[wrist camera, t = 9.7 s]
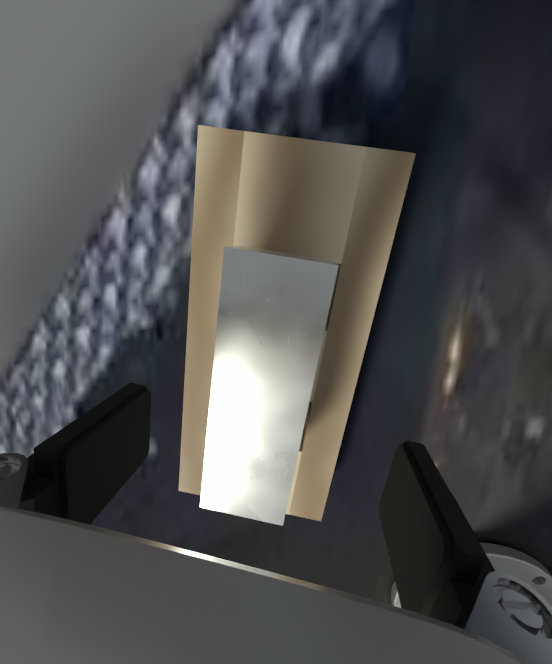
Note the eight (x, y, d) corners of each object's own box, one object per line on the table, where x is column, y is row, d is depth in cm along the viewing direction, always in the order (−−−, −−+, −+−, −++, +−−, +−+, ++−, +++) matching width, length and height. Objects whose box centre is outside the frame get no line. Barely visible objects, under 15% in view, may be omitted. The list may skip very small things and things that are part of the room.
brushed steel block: (326, 256, 17) (338, 265, 10) (292, 424, 21) (282, 525, 13) (261, 245, 18) (224, 246, 10) (239, 413, 21) (199, 507, 14)
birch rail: (396, 169, 16) (415, 153, 13) (319, 485, 22) (321, 521, 20) (217, 145, 16) (198, 125, 13) (194, 460, 23) (178, 490, 20)
